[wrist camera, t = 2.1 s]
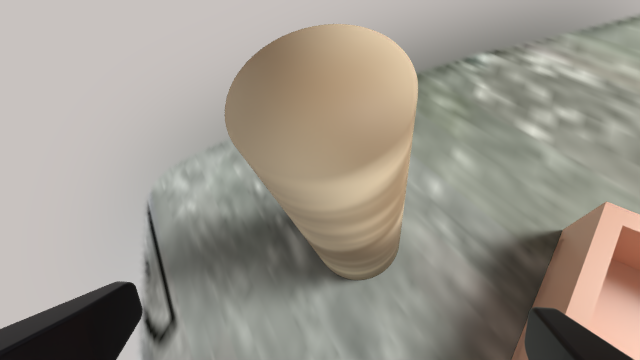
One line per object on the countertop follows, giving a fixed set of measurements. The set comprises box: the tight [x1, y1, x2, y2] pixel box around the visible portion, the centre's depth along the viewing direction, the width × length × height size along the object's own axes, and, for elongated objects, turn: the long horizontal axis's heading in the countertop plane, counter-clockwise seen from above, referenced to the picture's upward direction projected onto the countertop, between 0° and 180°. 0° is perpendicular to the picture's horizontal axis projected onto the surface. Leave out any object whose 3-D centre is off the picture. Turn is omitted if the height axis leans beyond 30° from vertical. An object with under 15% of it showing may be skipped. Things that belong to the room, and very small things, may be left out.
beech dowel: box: [225, 24, 418, 280], centre depth 14 cm, size 5×5×13 cm
